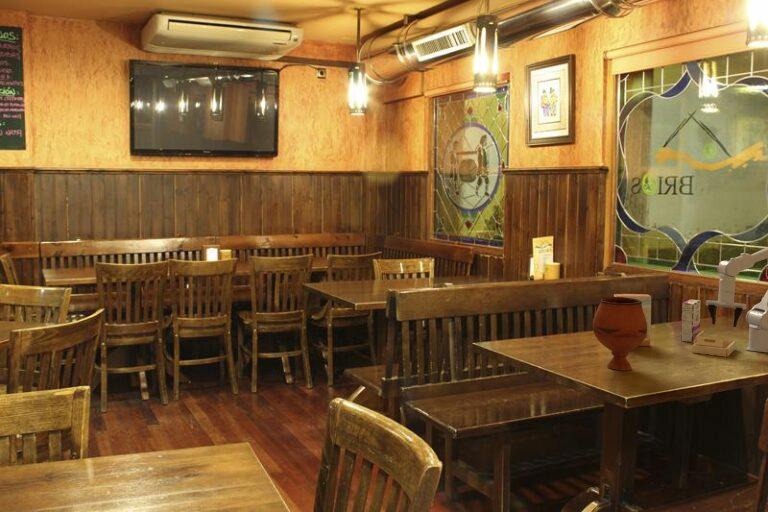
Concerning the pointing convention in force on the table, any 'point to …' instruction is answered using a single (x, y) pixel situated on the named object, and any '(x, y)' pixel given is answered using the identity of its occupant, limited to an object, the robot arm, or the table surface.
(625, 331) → the goblet
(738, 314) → the robot arm
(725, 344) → the carton
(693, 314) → the candy bar box
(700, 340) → the flap
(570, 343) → the table surface
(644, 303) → the cracker box
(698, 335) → the flap
